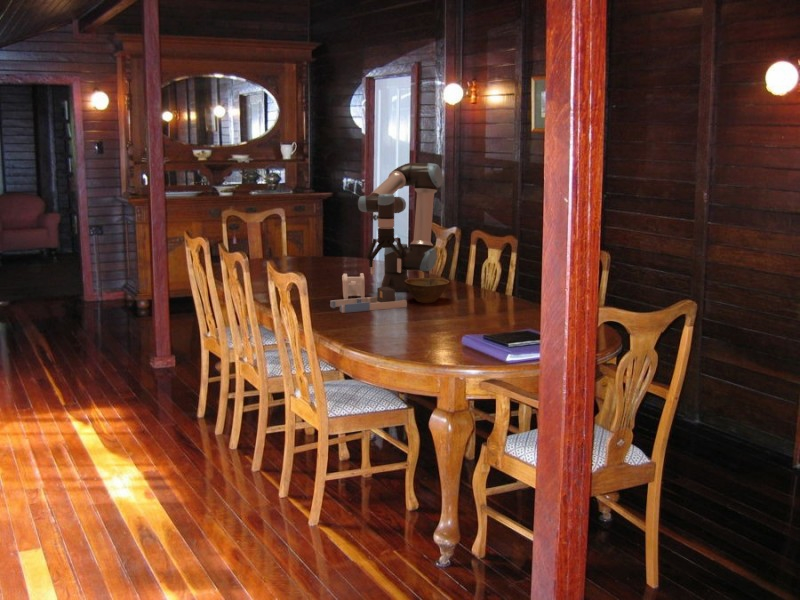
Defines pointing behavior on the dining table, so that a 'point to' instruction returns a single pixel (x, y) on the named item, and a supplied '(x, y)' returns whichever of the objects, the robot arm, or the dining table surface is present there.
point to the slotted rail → (365, 304)
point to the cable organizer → (353, 286)
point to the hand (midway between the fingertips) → (385, 273)
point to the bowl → (426, 288)
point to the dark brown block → (385, 294)
